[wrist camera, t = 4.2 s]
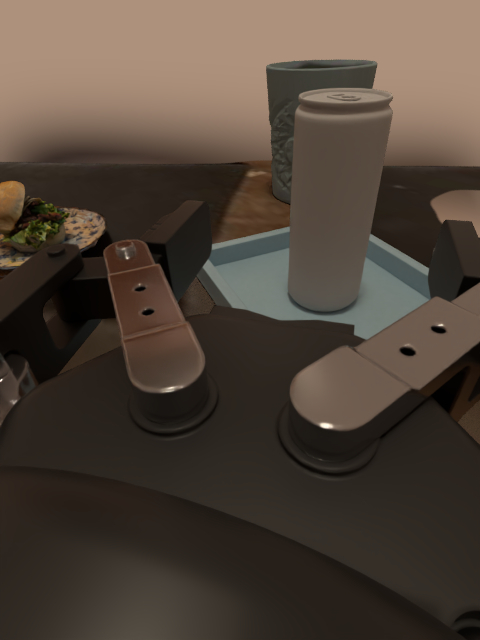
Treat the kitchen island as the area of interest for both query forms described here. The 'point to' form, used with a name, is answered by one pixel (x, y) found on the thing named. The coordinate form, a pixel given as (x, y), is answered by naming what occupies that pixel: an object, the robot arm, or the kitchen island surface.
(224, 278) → the tray
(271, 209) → the kitchen island surface
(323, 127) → the beverage can
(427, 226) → the kitchen island surface
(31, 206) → the burger
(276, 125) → the green embossed cup
